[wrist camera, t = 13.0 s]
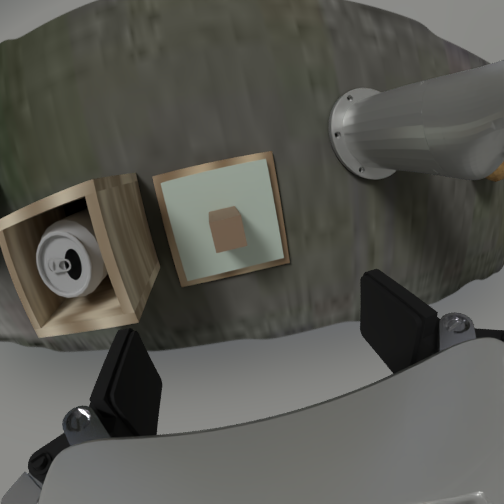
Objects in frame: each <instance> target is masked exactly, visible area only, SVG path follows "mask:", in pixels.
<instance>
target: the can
mask: <svg viewBox="0 0 504 504" xmlns="http://www.w3.org/2000/svg"><path fill="white" fill-rule="evenodd" d="M36 261H37V267H38V271H39V274H40V276H41V278H42V280H43V281H44V283H45V284H46V285H47V286H48V287H49V289H50V290H51V291H53V292H54V293H56V294H58V295H59V296H63V297H66V298H73V297H82V296H86V295H88V294H90V293H92V292H93V291H94V290H95V289H96V288H97V286H98V285H99V284H100V283H101V282H102V280H103V279H104V278H105V277H106V275H107V274H108V272H107V269H106V266H105V263H104V260H103V257H102V254H101V251H100V248H99V245H98V242H97V239H96V235H95V232H94V228H93V225H92V221H91V218H90V214H89V210H88V208H86V209H84V210H81V211H79V212H77V213H75V214H72V215H70V216H68V217H65V218H63V219H61V220H59V221H57V222H55V223H53V224H52V225H51V226H49V227H48V228H47V229H46V231H45V232H44V234H43V235H42V237H41V241H40V243H39V245H38V249H37V253H36Z"/></svg>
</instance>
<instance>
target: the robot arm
mask: <svg viewBox="0 0 504 504" xmlns="http://www.w3.org/2000/svg"><path fill="white" fill-rule="evenodd" d="M347 98H348V99H347ZM328 130H329V137H330V141H331V145H332V148H333V150H334V152H335V154H336V156H337V157H338V159H339V160H340V162H341V163H342V164H343V165H344V166H345V167H346V168H347V169H348V170H349V171H351V172H352V173H354V174H355V175H357V176H360V177H362V178H367V179H375V180H377V179H383V178H386V177H389V176H390V175H392V174H393V173H395V172H396V171H397V170H400V171H409V172H417V173H425V174H432V175H439V176H445V177H452V178H458V179H464V180H479V179H483V178H485V177H487V176H489V175H490V174H492V173H493V172H494V171H495V170H496V169H497V168H498V167H499V166H500V165H501V164H502V163H503V161H504V60H501V61H499V62H496V63H492V64H489V65H485V66H482V67H479V68H475V69H471V70H467V71H462V72H458V73H454V74H450V75H445V76H441V77H437V78H433V79H429V80H424V81H421V82H417V83H413V84H409V85H406V86H402V87H399V88H395V89H392V90H388V91H385V92H382V93H381V92H379V91H376V90H374V89H369V88H357V89H354V90H351V91H349V92H347V93H345V94H343V95H342V96H341V97H340V98H339V99H338V100H337V101H336V103H335V104H334V106H333V108H332V110H331V113H330V117H329V128H328ZM335 134H336V137H335ZM359 169H360V171H359ZM437 313H438V312H436V311H435V310H434V309H432V308H431V307H430V306H428V305H427V304H426V303H424V302H423V301H422V300H420V299H419V298H418V297H416V296H415V295H414V294H412V293H411V292H409V291H408V290H407V289H405V288H404V287H403V286H401V285H400V284H398V283H397V282H396V281H394V280H393V279H391V278H390V277H388V276H387V275H386V274H384V273H383V272H381V271H380V270H378V269H374V270H371V271H368V272H365V273H364V275H363V277H361V319H360V330H361V334H362V336H363V337H364V338H365V340H366V341H367V342H368V343H369V344H370V346H371V347H372V348H373V349H374V350H375V352H376V353H377V354H378V355H379V356H380V358H381V359H382V360H383V361H384V363H386V365H387V366H388V367H389V369H390V370H391V371H392V372H393V374H392V375H390V376H388V377H385V378H383V379H381V380H379V381H376V382H374V383H372V384H369V385H367V386H364V387H362V388H360V389H357V390H354V391H352V392H349V393H346V394H343V395H341V396H338V397H335V398H333V399H329V400H327V401H324V402H321V403H317V404H314V405H311V406H308V407H305V408H301V409H298V410H294V411H291V412H287V413H284V414H280V415H276V416H272V417H268V418H264V419H259V420H256V421H251V422H246V423H241V424H236V425H230V426H225V427H219V428H214V429H207V430H200V431H192V432H183V433H174V434H164V435H157V424H158V416H159V407H160V399H161V391H162V381H161V378H160V376H159V374H158V372H157V370H156V368H155V367H154V364H153V362H152V361H151V359H150V357H149V355H148V352H147V350H146V348H145V346H144V344H143V342H142V340H141V338H140V336H139V334H138V332H137V331H134V330H133V329H131V328H129V329H123V330H118V332H117V334H116V336H115V338H114V341H113V343H112V345H111V347H110V350H109V352H108V354H107V357H106V359H105V361H104V364H103V366H102V369H101V371H100V374H99V376H98V379H97V381H96V384H95V386H94V389H93V392H92V394H91V397H90V401H91V403H90V405H89V407H88V406H78V407H76V408H73V409H72V410H70V411H69V412H68V413H67V414H66V415H65V417H64V419H63V423H62V425H63V430H64V433H63V434H62V435H60V436H59V437H57V438H56V439H54V440H53V441H51V442H50V443H48V444H47V445H45V446H43V447H42V448H40V449H39V450H38V451H36V452H35V453H34V454H33V455H32V456H31V457H30V459H29V462H28V469H29V473H26V472H24V473H23V474H22V475H21V477H20V478H19V479H18V480H17V481H16V482H15V483H14V484H13V486H12V487H11V488H10V489H9V490H8V491H7V493H6V494H5V495H4V496H3V498H2V502H1V504H504V330H489V329H475V328H474V324H473V322H472V320H471V319H470V318H469V317H467V316H466V315H464V314H461V313H449V314H446V315H444V316H443V317H442V318H441V319H439V318H438V317H437Z"/></svg>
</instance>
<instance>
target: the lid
mask: <svg viewBox="0 0 504 504" xmlns="http://www.w3.org/2000/svg"><path fill="white" fill-rule="evenodd" d="M161 187H162V191H163V195H164V199H165V203H166V207H167V211H168V215H169V219H170V223H171V226H172V230H173V234H174V237H175V241H176V244H177V248H178V251H179V255H180V258H181V261H182V265H183V268H184V271H185V275H186V278H187V281H191V280H195V279H199V278H203V277H207V276H212V275H216V274H220V273H224V272H228V271H232V270H236V269H241V268H245V267H249V266H253V265H257V264H261V263H265V262H269V261H273V260H277V259H281V258H284V255H283V249H282V243H281V237H280V232H279V226H278V220H277V215H276V209H275V204H274V198H273V193H272V188H271V182H270V177H269V172H268V167H267V162H266V159H262V160H256V161H251V162H246V163H241V164H236V165H232V166H227V167H223V168H218V169H214V170H209V171H205V172H201V173H197V174H193V175H189V176H185V177H181V178H177V179H173V180H170V181H166V182H162V183H161Z"/></svg>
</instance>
